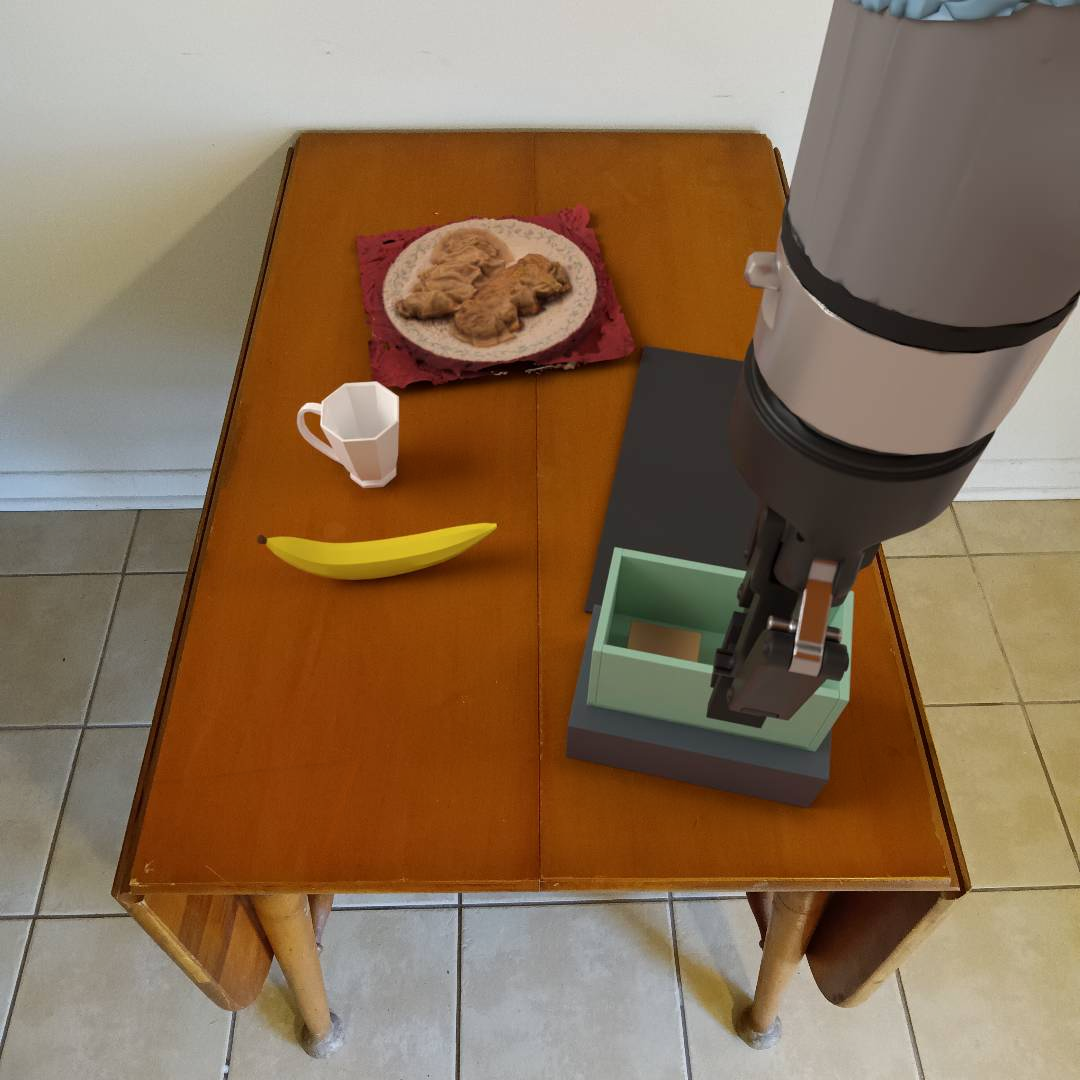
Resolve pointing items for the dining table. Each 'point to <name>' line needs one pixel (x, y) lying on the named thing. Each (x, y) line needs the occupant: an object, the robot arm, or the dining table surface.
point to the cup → (358, 431)
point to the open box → (684, 686)
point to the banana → (377, 552)
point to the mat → (678, 469)
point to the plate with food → (488, 298)
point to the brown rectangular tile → (664, 641)
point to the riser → (691, 749)
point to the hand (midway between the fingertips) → (736, 700)
